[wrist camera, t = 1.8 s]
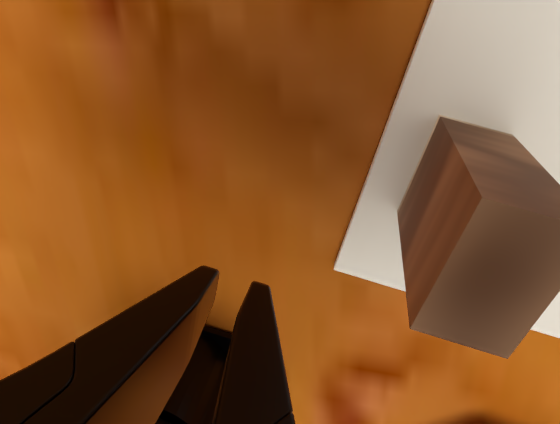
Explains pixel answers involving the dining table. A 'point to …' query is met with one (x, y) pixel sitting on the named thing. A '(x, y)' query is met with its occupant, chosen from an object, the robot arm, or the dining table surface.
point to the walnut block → (479, 238)
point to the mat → (461, 115)
